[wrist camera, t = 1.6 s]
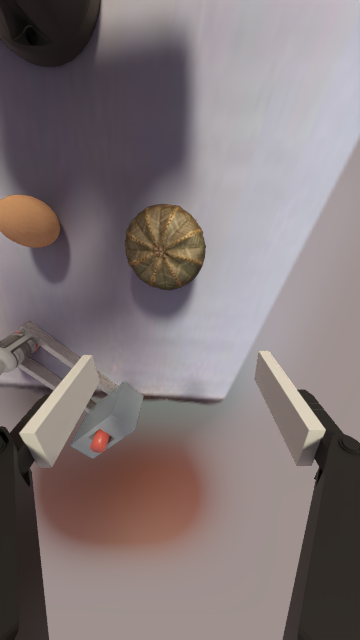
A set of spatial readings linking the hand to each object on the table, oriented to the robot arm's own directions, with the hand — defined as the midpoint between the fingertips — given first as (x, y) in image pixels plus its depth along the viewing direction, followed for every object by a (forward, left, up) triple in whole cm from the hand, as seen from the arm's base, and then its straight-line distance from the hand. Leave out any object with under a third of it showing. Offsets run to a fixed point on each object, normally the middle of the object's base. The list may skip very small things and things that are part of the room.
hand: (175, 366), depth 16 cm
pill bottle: (-14, -31, -23) cm, 41 cm away
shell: (-7, +4, -23) cm, 24 cm away
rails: (-4, -31, -22) cm, 39 cm away
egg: (-23, -8, -23) cm, 33 cm away
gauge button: (+10, -31, -17) cm, 37 cm away
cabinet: (+10, -31, -22) cm, 40 cm away
